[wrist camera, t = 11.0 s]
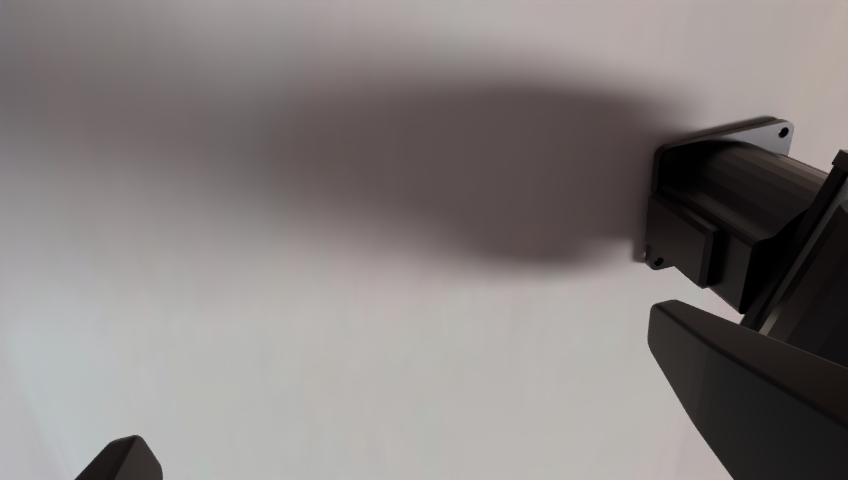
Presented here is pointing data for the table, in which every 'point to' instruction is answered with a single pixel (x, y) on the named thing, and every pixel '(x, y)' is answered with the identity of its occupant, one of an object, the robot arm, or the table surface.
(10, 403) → the table surface
